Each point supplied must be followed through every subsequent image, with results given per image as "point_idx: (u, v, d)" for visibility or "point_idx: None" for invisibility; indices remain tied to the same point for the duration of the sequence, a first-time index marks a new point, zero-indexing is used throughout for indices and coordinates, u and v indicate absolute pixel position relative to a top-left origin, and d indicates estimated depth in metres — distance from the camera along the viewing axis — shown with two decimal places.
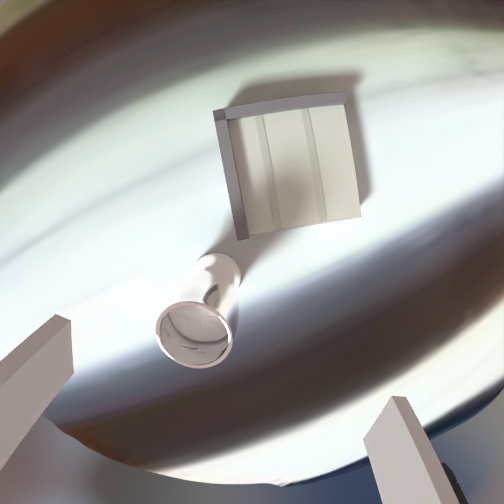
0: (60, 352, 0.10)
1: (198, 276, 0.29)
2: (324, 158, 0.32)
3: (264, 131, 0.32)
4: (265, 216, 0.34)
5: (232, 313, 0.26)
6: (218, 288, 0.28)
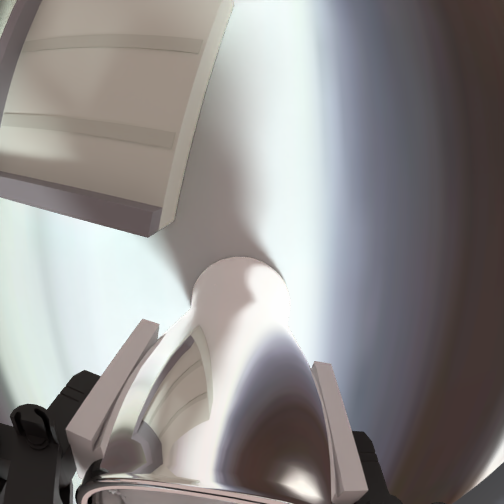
0: None
1: None
2: (93, 23, 0.12)
3: (19, 115, 0.13)
4: (139, 158, 0.14)
5: (206, 408, 0.06)
6: (140, 376, 0.08)
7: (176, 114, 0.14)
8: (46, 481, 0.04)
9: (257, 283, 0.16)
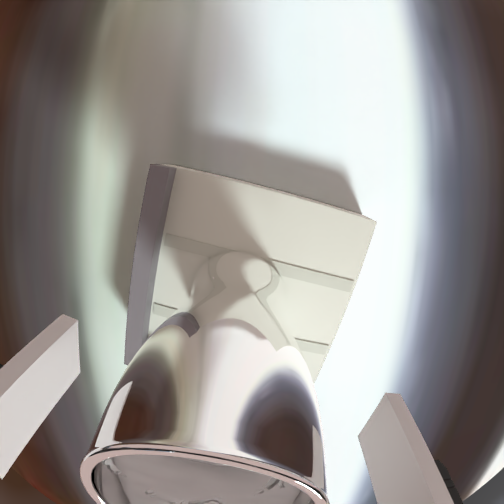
0: (67, 352, 0.10)
1: None
2: (254, 242, 0.19)
3: None
4: None
5: (203, 381, 0.07)
6: (143, 356, 0.08)
7: (330, 334, 0.21)
8: None
9: (253, 276, 0.17)
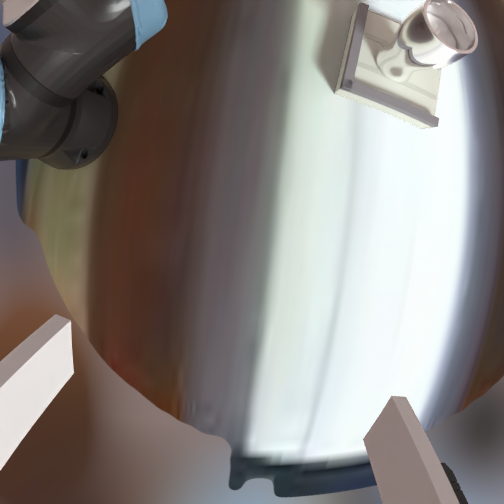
0: (60, 352, 0.10)
1: (401, 23, 0.23)
2: None
3: (368, 65, 0.33)
4: (426, 101, 0.34)
5: (438, 5, 0.19)
6: None
7: (436, 90, 0.33)
8: None
9: None
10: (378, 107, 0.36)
